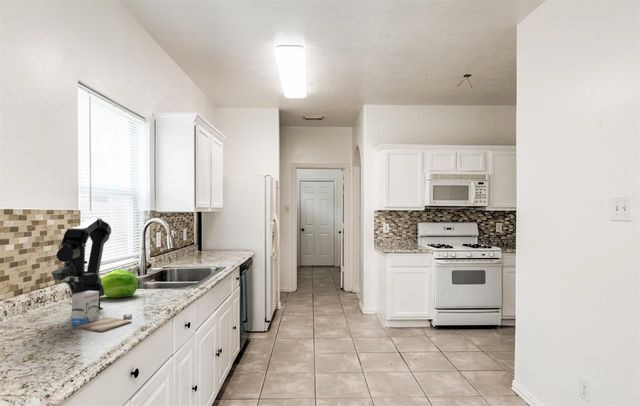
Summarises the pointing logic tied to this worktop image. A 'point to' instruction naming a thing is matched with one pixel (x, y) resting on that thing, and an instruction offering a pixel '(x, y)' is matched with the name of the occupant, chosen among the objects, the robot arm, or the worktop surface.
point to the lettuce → (119, 283)
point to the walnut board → (103, 324)
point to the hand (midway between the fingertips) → (75, 298)
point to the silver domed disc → (127, 316)
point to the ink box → (85, 307)
